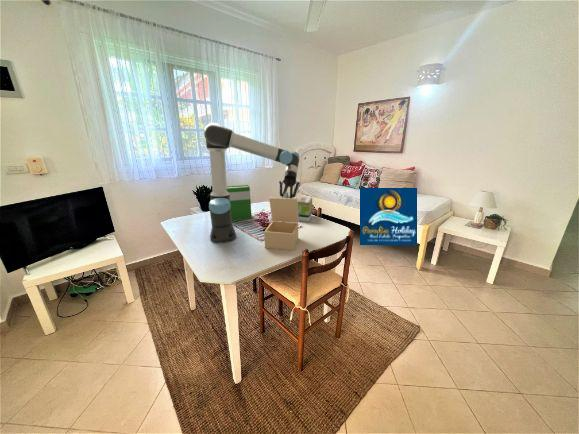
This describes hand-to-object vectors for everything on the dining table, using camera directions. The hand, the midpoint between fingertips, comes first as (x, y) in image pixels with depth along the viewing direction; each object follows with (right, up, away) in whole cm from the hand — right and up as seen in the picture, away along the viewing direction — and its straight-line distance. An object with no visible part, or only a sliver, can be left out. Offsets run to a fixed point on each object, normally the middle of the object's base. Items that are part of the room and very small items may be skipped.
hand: (285, 206), depth 133 cm
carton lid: (-1, -3, -3) cm, 4 cm away
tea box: (+13, -7, +36) cm, 39 cm away
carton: (-2, -21, -3) cm, 21 cm away
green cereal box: (-36, -7, +37) cm, 52 cm away
